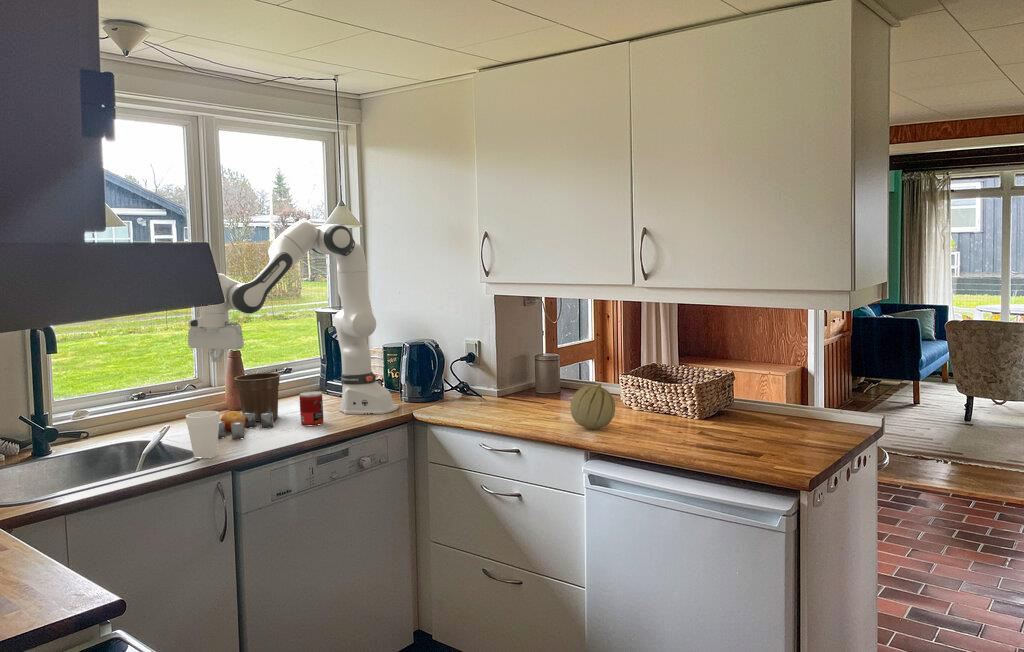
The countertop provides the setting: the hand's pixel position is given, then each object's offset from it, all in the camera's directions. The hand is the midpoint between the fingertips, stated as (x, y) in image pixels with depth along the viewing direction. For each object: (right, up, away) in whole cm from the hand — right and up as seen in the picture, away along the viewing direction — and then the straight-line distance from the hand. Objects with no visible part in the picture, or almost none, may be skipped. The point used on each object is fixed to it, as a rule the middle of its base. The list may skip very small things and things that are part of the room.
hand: (216, 361), depth 268 cm
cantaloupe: (+128, -22, -9) cm, 130 cm away
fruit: (+5, -24, +2) cm, 25 cm away
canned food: (+30, -23, +10) cm, 39 cm away
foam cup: (+8, -27, -31) cm, 42 cm away
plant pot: (+8, -22, +20) cm, 31 cm away
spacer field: (+6, -24, +1) cm, 25 cm away
